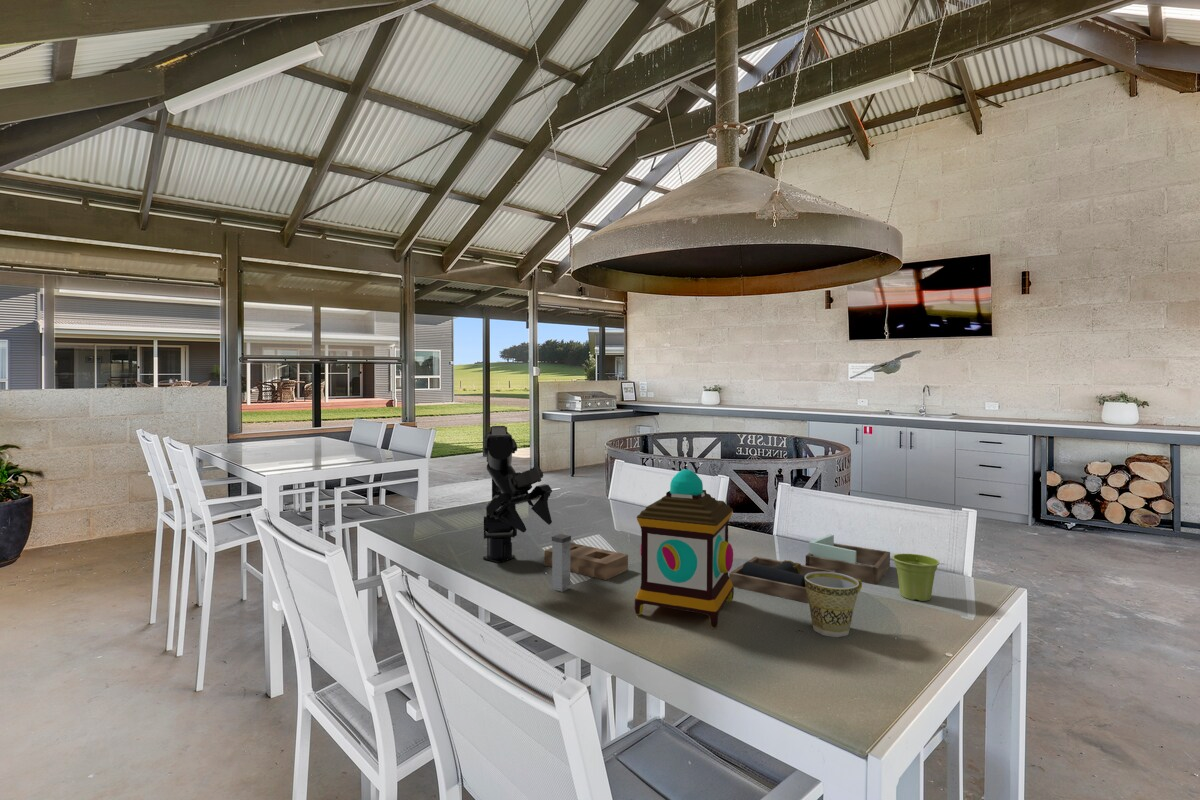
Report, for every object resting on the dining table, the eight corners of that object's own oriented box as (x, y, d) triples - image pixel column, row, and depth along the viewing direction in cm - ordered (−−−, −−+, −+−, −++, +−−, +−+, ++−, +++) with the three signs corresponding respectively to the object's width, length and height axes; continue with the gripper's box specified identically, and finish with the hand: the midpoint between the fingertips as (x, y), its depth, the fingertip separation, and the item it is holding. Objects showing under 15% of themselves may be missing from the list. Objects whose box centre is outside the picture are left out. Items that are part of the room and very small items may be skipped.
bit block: (544, 565, 153) (544, 550, 153) (568, 556, 161) (568, 542, 161) (605, 580, 141) (605, 564, 141) (628, 569, 149) (628, 554, 149)
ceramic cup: (830, 645, 106) (831, 591, 106) (792, 624, 115) (793, 575, 115) (881, 633, 111) (882, 582, 111) (841, 614, 121) (841, 567, 120)
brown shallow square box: (805, 571, 149) (805, 555, 149) (823, 555, 163) (823, 541, 162) (877, 584, 139) (877, 568, 139) (889, 566, 153) (890, 552, 152)
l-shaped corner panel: (854, 581, 142) (854, 551, 142) (808, 570, 151) (808, 542, 151) (874, 571, 151) (874, 542, 150) (829, 561, 159) (830, 534, 159)
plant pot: (882, 592, 133) (883, 555, 133) (911, 587, 137) (911, 551, 137) (919, 607, 125) (919, 567, 125) (948, 600, 129) (949, 562, 128)
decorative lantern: (741, 599, 129) (742, 466, 128) (722, 634, 111) (723, 479, 110) (656, 586, 137) (656, 461, 136) (625, 616, 119) (626, 472, 118)
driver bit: (551, 589, 135) (551, 536, 135) (560, 585, 138) (560, 533, 137) (562, 592, 133) (562, 538, 133) (570, 588, 136) (570, 536, 135)
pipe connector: (765, 553, 148) (822, 566, 137) (765, 573, 148) (822, 588, 137) (741, 563, 140) (799, 578, 129) (741, 585, 140) (799, 601, 129)
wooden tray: (729, 585, 138) (729, 573, 138) (755, 567, 152) (755, 556, 151) (815, 604, 126) (815, 590, 126) (835, 583, 140) (835, 570, 140)
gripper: (494, 461, 135) (529, 514, 128) (546, 453, 150) (580, 500, 144) (471, 490, 139) (504, 543, 133) (524, 480, 155) (556, 527, 148)
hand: (538, 527), depth 140 cm, fingers open, 9 cm apart
